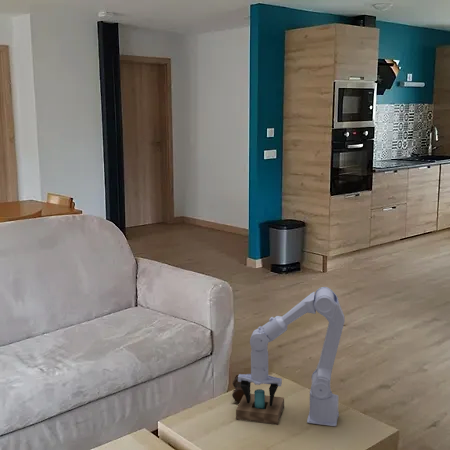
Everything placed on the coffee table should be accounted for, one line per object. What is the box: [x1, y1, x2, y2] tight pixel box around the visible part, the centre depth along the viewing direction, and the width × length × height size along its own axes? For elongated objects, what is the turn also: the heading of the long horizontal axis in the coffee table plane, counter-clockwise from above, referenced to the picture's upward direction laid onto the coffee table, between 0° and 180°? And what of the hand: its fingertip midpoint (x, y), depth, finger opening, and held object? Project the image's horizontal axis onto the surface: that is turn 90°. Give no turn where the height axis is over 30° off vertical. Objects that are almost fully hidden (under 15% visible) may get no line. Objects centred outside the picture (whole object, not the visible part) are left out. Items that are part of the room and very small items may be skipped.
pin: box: [253, 388, 266, 409], centre depth 199 cm, size 3×3×8 cm
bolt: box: [231, 374, 245, 404], centre depth 214 cm, size 6×5×15 cm
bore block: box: [235, 393, 285, 425], centre depth 200 cm, size 14×12×4 cm
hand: (259, 403), depth 199 cm, fingers open, 7 cm apart
